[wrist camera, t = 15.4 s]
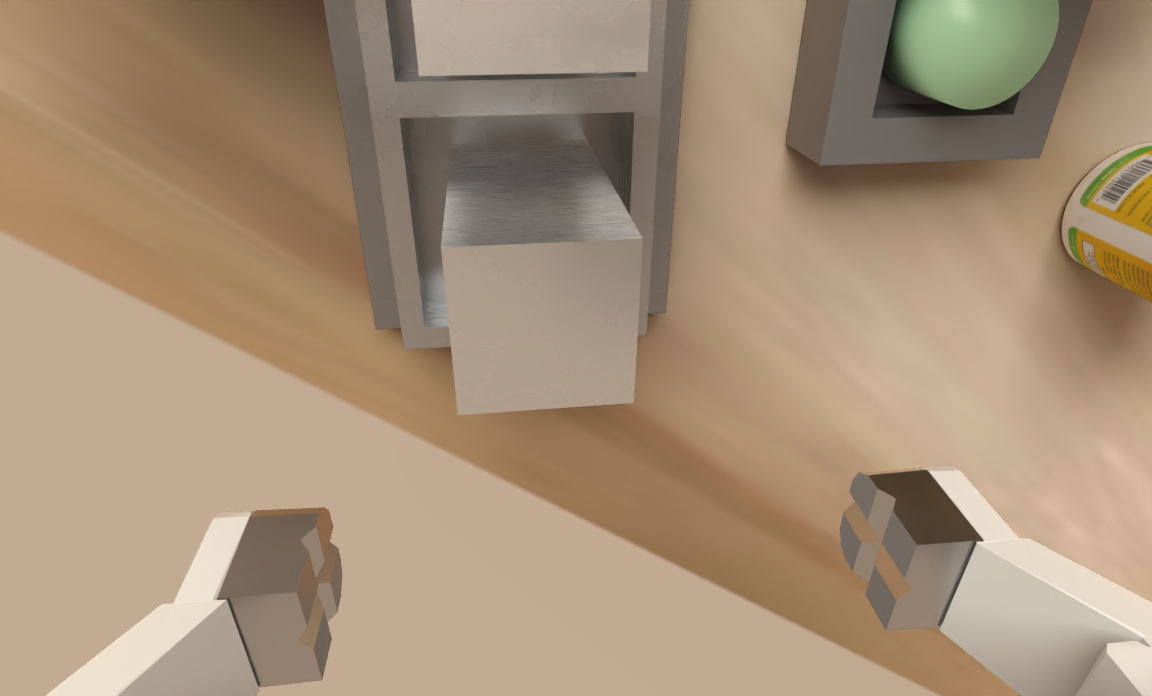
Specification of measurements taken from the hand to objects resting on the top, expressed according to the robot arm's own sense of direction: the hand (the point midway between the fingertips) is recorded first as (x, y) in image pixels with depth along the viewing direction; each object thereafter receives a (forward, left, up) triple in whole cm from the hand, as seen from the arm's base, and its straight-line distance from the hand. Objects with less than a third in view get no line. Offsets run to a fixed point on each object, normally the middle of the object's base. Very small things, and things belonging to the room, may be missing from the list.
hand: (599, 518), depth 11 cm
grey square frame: (-14, -5, -17) cm, 23 cm away
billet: (0, 0, -16) cm, 16 cm away
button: (-14, -5, -16) cm, 21 cm away
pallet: (0, -4, -17) cm, 18 cm away
